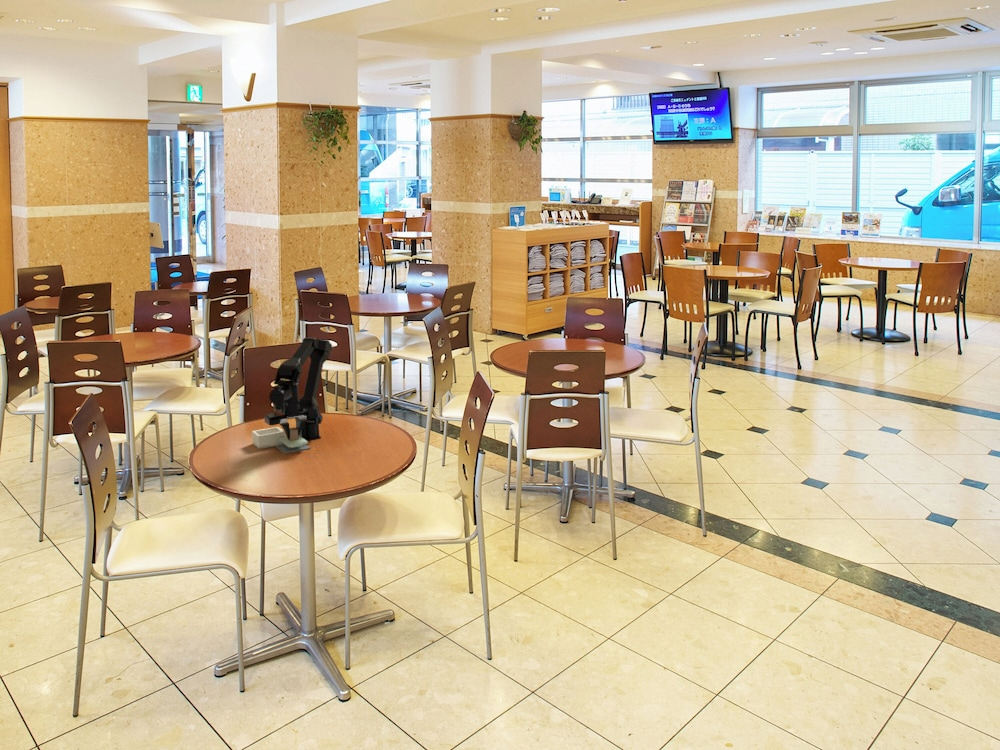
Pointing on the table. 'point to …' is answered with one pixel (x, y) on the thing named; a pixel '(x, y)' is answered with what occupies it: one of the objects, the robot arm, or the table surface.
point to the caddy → (267, 437)
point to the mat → (288, 449)
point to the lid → (293, 439)
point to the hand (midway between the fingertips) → (292, 438)
